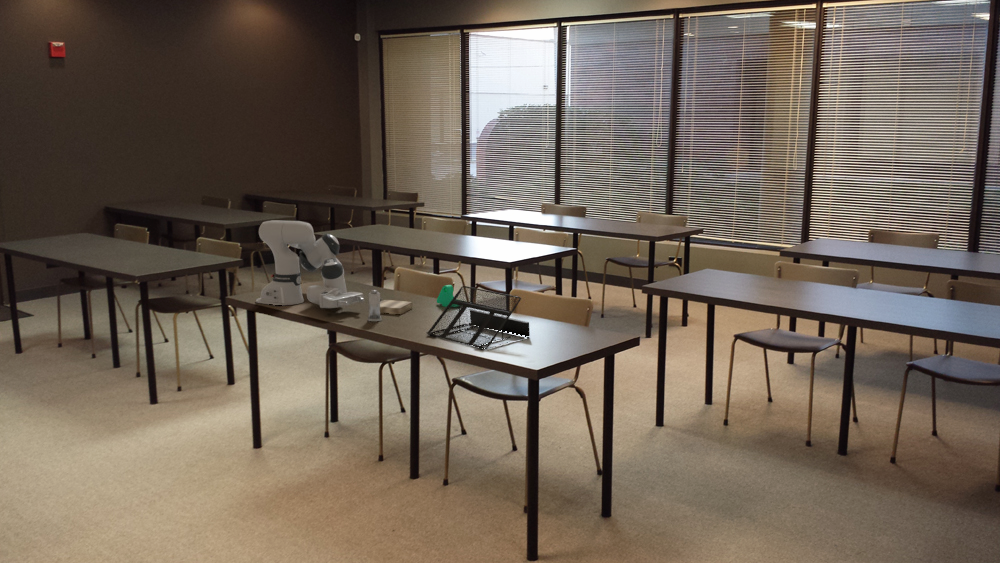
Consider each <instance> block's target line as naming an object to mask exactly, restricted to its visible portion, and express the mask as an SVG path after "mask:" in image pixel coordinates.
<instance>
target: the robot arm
mask: <svg viewBox="0 0 1000 563" xmlns="http://www.w3.org/2000/svg"><path fill="white" fill-rule="evenodd" d="M258 235H259V238H260V240H261V241H262V242H264V244H266V245H267V246H268V247H269V248H270V250H271V252H272V254H273V258H274V265H275V268H274V269H275V273H273V274H270V278H272V280H271V281H270V282H269V283H268V284H267V285H265V286H264V287H262V289H261V293H260V297H259V298H256V301H255V303H257V304H264V305H269V304H273V305H272V306H275V305H282V306H291V305H293V306H294V305H298V304H302V303H304V302H305V299H304V297H303V296H304V295H303V290H302V285H301V282H302V278H301V277H302V275H301V274H302V273H301V271H300V265H301V267H302V268H303V269H305V270H306V271H308V272H311V273H313V272H315V271H317V270H318V269H319V268H320V272H321V277H322V280H323V285H317V284H316V285H315V284H314V285H310V286H309V285H308V287H307V289H306V298H307V300H308V301H309V302H311V303H312V304H315V305H318V306H319V308H320V309H337V308H340V307H343V306H344V307H348V306H350V305H351V304H355V303H365V298H364V293H362V292H358V291H348V290H347V285H346V280H345V270H344V267H343V264H342V262H340V260H339V259H338V258H337V255H338V256H339V255H340V249H341V248H340V242H339V241H338V238H337V237H336V236H334V235H332V234H331V233H325V234H324V235H322V236H321V237H319V238H318V239H317V240H316V236H315V234H314V228H313V226H312V224H311V223H309V222H307V221H301V220H278V219H276V220H274V219H272V220H266V221H263V222H262V223H261V224H260V226H259V227H258ZM288 245H289V246H288ZM289 247H292V248H296V249H298V250H299V249H300V251H299V256H298V254H297V253H296V252H295V251H293V250H291V249H290V248H289Z"/></svg>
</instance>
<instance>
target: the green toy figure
mask: <svg viewBox="0 0 1000 563" xmlns="http://www.w3.org/2000/svg"><path fill="white" fill-rule="evenodd" d="M454 296H455V295H454V287H453V285H452V284H446V285H443V286H442V288H441V290H440V292H439V294H438V297H437V298H436V304H440V305H441V306H442V307H445V308H446V307H447V306H448V304H449V303H450V302H451V300H452V299H453V298H454ZM456 299H457V300H459V298H456ZM456 306H457V307H458V305H455V304H454V306H453V304H452V308H453V307H456ZM450 308H451V306H450Z"/></svg>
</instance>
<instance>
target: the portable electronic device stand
mask: <svg viewBox="0 0 1000 563" xmlns="http://www.w3.org/2000/svg"><path fill="white" fill-rule="evenodd" d="M464 290H466V292H464ZM478 291H479V292H478ZM453 296H454V298H453V299H452V300H451V302H450V303H449V304H448V306H447V307H445V308H444V310H443V311H442V312H441V314H440V315H439V316H438V318H437V319H436V320H435V322H434V324H433V325H432V326H431V327H430V328H429V330H428V331H426V335H428V336H429V337H433V336H434V337H433V338H437V337H438V338H440V339H443V340H448V341H451V342H455V343H458V342H460V343H459V344H462V343H465V344H464V345H466V344H469V345H468V346H470V345H473V346H475V347H474V348H476V347H479V348H483V349H484V348H485V349H486V350H488V349H489V348H490V347H491V343H492V341H496V340H494V339H496V337H497V335H498V334H499V333H500V332H499V331H501V330H502V333H501V338H499V339H497V340H501V339H502V340H503V339H504V338H505V339H506V338H507V339H508V337H510V338H511V335H510V336H509V335H508V337H507V336H506V337H504V333H503V332H505V331H507V333H509V332H512V334H514V333H516V335H518V334H520V335H521V336H522V335H525V337H526V336H531V335H530V322H529V321H525V320H521V319H517V318H511V316H512V315H513V312H514V311H515V310H516V308H517V306H518V305H519V303H520V301H521V300H522V297H520V296H517V295H511V294H508V293H507V294H506V293H502V292H498V291H492V290H487V289H483V288H476V287H473V286H466V285H462V286H461V287H460V288H459V290H458V291H457V292H456V293H455V295H453ZM459 296H460V297H459ZM457 299H458V300H457ZM452 304H453V306H454V304H455V305H458V306H456V307H452ZM450 306H451V307H450ZM464 325H466V326H464ZM471 325H476V326H471ZM460 326H462V327H460ZM477 326H479V327H477ZM456 327H457V328H456ZM458 327H459V328H458ZM473 327H474V328H473ZM475 327H477V328H475ZM453 328H454V329H453ZM470 328H471V329H470ZM484 328H489V329H494V330H498V331H497V332H496V331H492V330H488V329H484ZM444 330H445V331H444ZM462 330H465V332H463V331H462ZM439 331H443V332H439ZM458 331H460V332H458ZM435 332H438V333H435ZM454 332H455V333H454ZM456 332H457V333H456ZM467 332H469V333H467ZM433 333H434V334H433ZM471 333H473V334H471ZM513 336H514V335H512V337H513ZM486 337H488V338H486ZM490 338H492V339H490ZM520 339H522V338H521V337H520ZM503 341H504V340H503ZM508 342H509V341H508ZM508 342H506V343H508ZM486 343H488V345H487V344H486ZM482 344H483V345H482ZM484 344H486V345H484ZM492 344H493V343H492ZM501 344H502V343H501ZM501 344H499V345H501ZM479 345H481V346H479ZM473 346H472V347H473Z"/></svg>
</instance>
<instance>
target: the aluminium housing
mask: <svg viewBox="0 0 1000 563" xmlns="http://www.w3.org/2000/svg"><path fill="white" fill-rule="evenodd" d="M380 299H381V292H379V291H378V290H377V289H371V290H370V292H369V293H368V317H367V322H370V321H371V322H372V323H378V322H377V321H379V322H382V319H383V318H382V316H381V313H380ZM371 322H370V323H371Z"/></svg>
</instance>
